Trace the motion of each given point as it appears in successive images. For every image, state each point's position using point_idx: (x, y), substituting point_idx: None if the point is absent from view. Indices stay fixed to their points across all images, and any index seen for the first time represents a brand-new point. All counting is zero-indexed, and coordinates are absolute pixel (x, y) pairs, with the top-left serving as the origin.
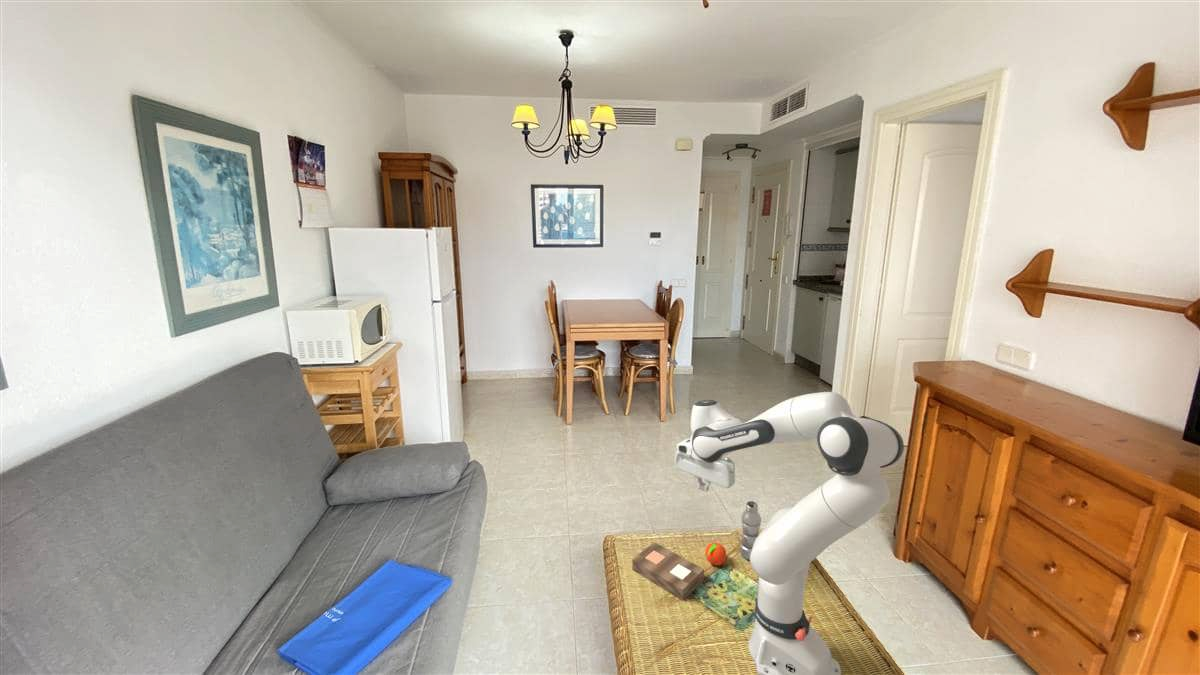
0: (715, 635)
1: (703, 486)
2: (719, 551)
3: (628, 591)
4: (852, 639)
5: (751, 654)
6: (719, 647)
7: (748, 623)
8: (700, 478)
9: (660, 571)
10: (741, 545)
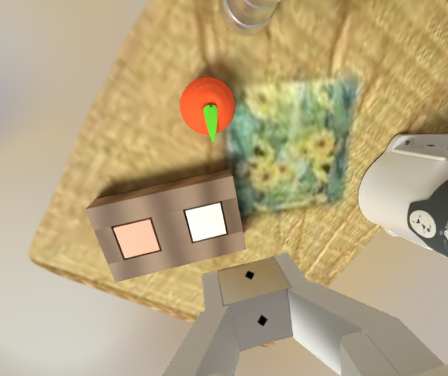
0: (318, 238)
1: (283, 335)
2: (227, 112)
3: (167, 295)
4: None
5: (374, 223)
6: (333, 247)
7: (342, 180)
8: (208, 368)
9: (181, 255)
10: (236, 22)
